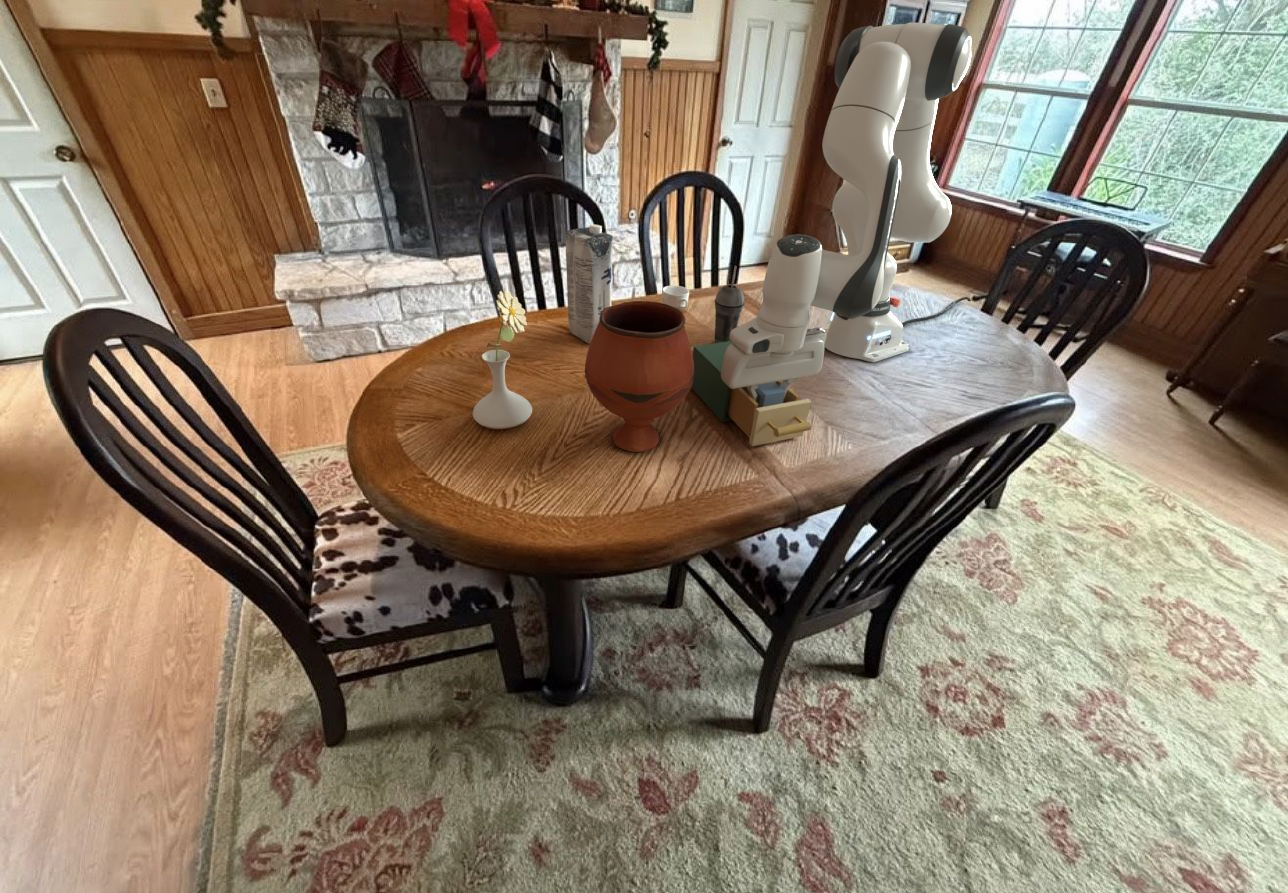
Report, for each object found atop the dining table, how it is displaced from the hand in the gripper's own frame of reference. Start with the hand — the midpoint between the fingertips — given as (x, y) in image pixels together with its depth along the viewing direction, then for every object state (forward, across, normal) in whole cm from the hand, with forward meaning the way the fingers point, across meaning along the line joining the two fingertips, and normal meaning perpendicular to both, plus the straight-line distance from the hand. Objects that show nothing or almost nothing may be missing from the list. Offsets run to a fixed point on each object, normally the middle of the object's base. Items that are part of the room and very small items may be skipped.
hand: (766, 399), depth 106 cm
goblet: (+7, +25, -4) cm, 26 cm away
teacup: (+7, -9, -61) cm, 62 cm away
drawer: (+6, 0, +1) cm, 6 cm away
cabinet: (+7, 0, -12) cm, 14 cm away
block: (+2, 0, 0) cm, 2 cm away
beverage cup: (+7, -11, -36) cm, 39 cm away
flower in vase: (+7, +47, -19) cm, 51 cm away
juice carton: (+7, +20, -51) cm, 56 cm away
